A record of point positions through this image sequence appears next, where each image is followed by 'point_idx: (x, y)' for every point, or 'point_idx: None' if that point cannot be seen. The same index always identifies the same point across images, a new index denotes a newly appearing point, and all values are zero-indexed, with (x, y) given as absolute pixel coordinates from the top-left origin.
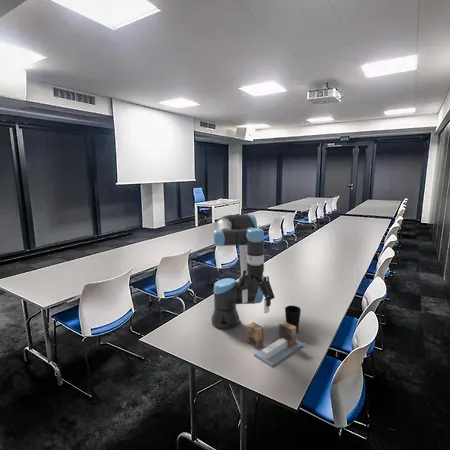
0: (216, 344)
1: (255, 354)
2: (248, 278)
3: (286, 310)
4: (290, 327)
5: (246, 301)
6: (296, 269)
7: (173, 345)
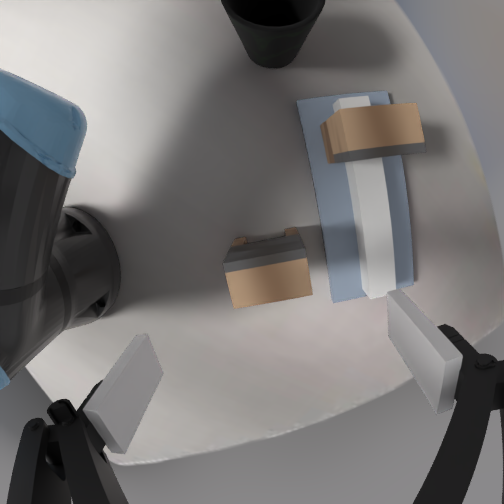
0: (197, 369)
1: (339, 301)
2: None
3: (267, 29)
4: (407, 133)
5: (150, 349)
6: None
7: (153, 443)
